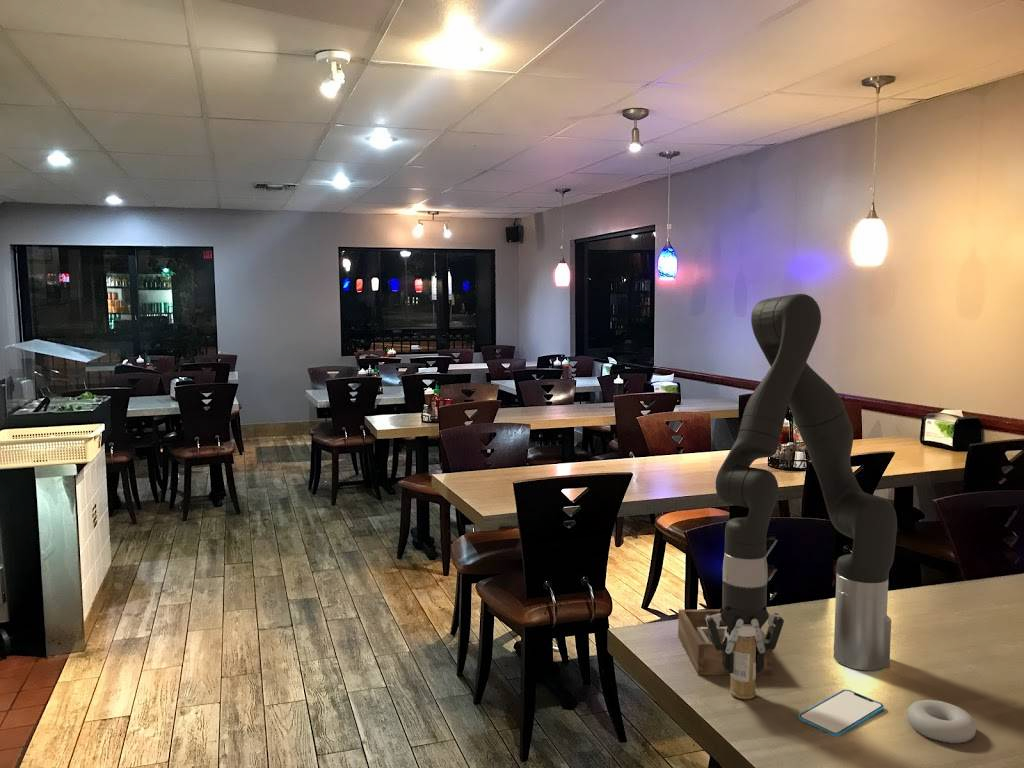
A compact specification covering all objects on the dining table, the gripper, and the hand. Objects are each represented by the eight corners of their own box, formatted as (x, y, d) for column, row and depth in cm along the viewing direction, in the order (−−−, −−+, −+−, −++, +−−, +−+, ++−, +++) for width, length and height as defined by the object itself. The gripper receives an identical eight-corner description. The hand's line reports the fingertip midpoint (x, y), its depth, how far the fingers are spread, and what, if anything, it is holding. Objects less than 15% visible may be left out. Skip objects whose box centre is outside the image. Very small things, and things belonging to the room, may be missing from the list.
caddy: (744, 636, 162) (745, 609, 162) (771, 674, 145) (772, 643, 145) (678, 637, 162) (678, 609, 162) (698, 675, 145) (698, 644, 145)
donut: (919, 709, 133) (896, 729, 126) (920, 690, 133) (897, 709, 126) (984, 732, 126) (963, 755, 119) (985, 712, 126) (965, 733, 119)
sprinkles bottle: (761, 695, 137) (763, 622, 136) (744, 702, 135) (745, 628, 134) (740, 685, 141) (742, 614, 140) (723, 692, 139) (725, 620, 137)
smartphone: (795, 716, 130) (845, 688, 139) (795, 722, 130) (845, 694, 139) (836, 735, 124) (886, 705, 132) (836, 742, 124) (886, 711, 133)
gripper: (777, 570, 140) (775, 661, 141) (699, 571, 140) (697, 662, 141) (792, 585, 132) (790, 680, 134) (710, 586, 132) (708, 681, 134)
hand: (742, 670), depth 138 cm, fingers closed on sprinkles bottle, 4 cm apart
